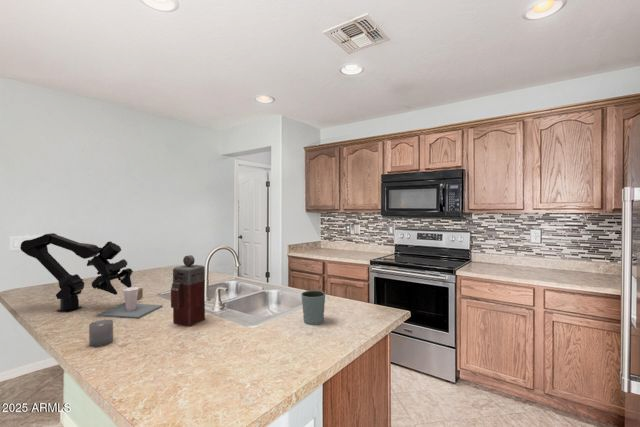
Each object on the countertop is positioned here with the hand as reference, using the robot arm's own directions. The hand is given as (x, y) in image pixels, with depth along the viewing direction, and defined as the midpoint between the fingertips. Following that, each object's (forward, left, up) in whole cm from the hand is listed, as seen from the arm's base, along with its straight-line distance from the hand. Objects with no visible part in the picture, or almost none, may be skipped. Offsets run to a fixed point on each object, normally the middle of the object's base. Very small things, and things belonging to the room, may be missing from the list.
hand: (124, 291), depth 145 cm
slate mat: (+3, 0, -9) cm, 10 cm away
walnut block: (-9, +17, -9) cm, 21 cm away
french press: (+36, -8, -9) cm, 38 cm away
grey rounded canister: (+17, -31, -9) cm, 37 cm away
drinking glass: (+88, +2, -9) cm, 89 cm away
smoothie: (+3, 0, -8) cm, 9 cm away
